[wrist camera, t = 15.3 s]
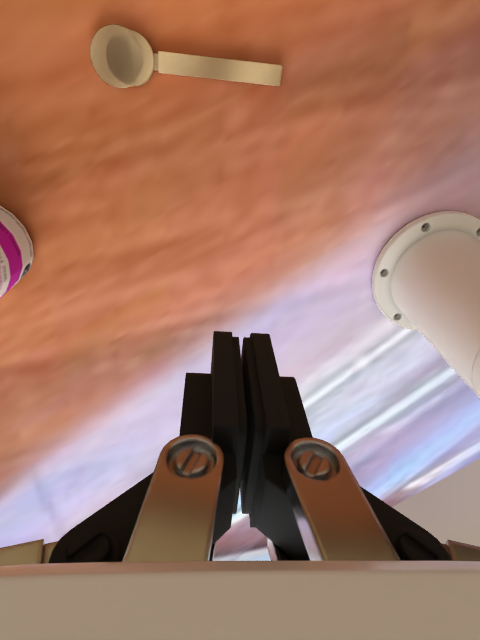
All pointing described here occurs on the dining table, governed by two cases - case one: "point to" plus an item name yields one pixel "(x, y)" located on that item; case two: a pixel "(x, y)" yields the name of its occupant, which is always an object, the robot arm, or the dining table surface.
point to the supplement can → (13, 251)
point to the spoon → (166, 62)
